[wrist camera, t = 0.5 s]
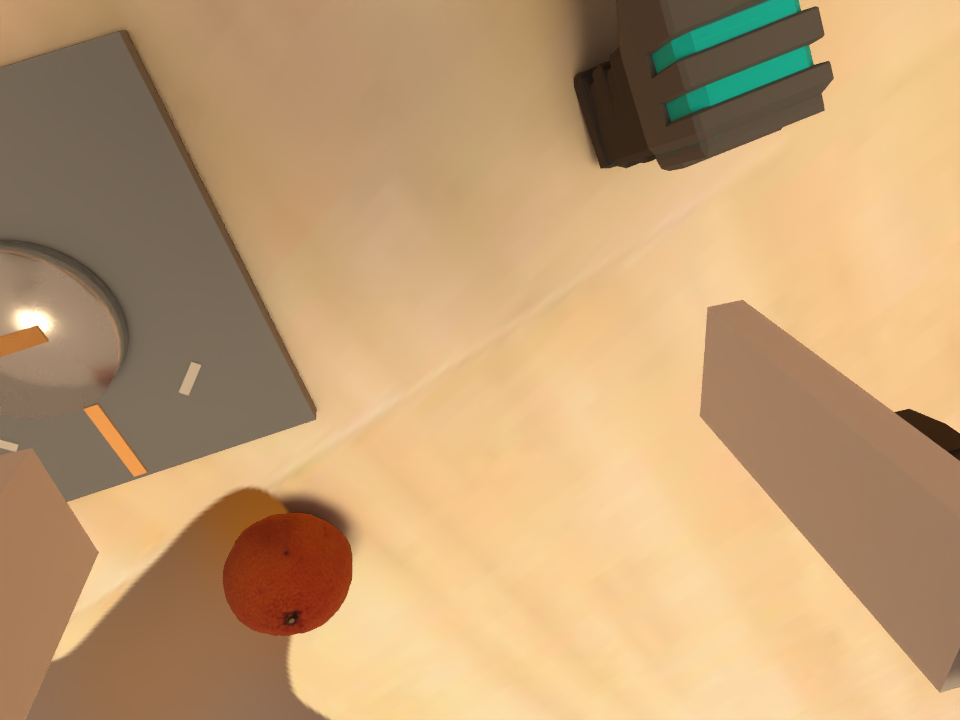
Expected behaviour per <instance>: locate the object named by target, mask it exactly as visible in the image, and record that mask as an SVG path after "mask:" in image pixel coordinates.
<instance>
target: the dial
mask: <svg viewBox="0 0 960 720" xmlns="http://www.w3.org/2000/svg"><path fill="white" fill-rule="evenodd" d="M127 348H128V327H127V323H126V318H125V316H124V313H123V311H122V308H121V306H120V304H119V303H118V301H117V299H116V297H115V296H114V295H113V293H112V292H111V291H110V289H109V288H108V287H107V286H106V285H105V284H104V283H103V281H102V280H101V279H100V278H99V277H97V276H96V275H95V274H94V273H93V272H92V271H90V270H89V269H88V268H86V267H85V266H83V265H82V264H81V263H79V262H77V261H76V260H74V259H72V258H70V257H69V256H67V255H65V254H62V253H60V252H58V251H55V250H53V249H50V248H47V247H44V246H41V245H37V244H32V243H28V242H21V241H12V240H0V415H4V416H9V417H16V418H29V419H38V418H50V417H57V416H61V415H65V414H69V413H72V412H74V411H77V410H79V409H82V408H83V407H85V406H87V405H89V404H90V403H92V402H93V401H94V400H96V399H97V398H98V397H99V396H100V395H101V394H102V393H103V392H104V391H105V390H106V389H107V387H108V386H109V384H110V383H111V381H112V380H113V378H114V376H115V375H116V373H117V371H118V370H119V368H120V366H121V364H122V362H123V360H124V358H125V355H126V352H127Z"/></svg>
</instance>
